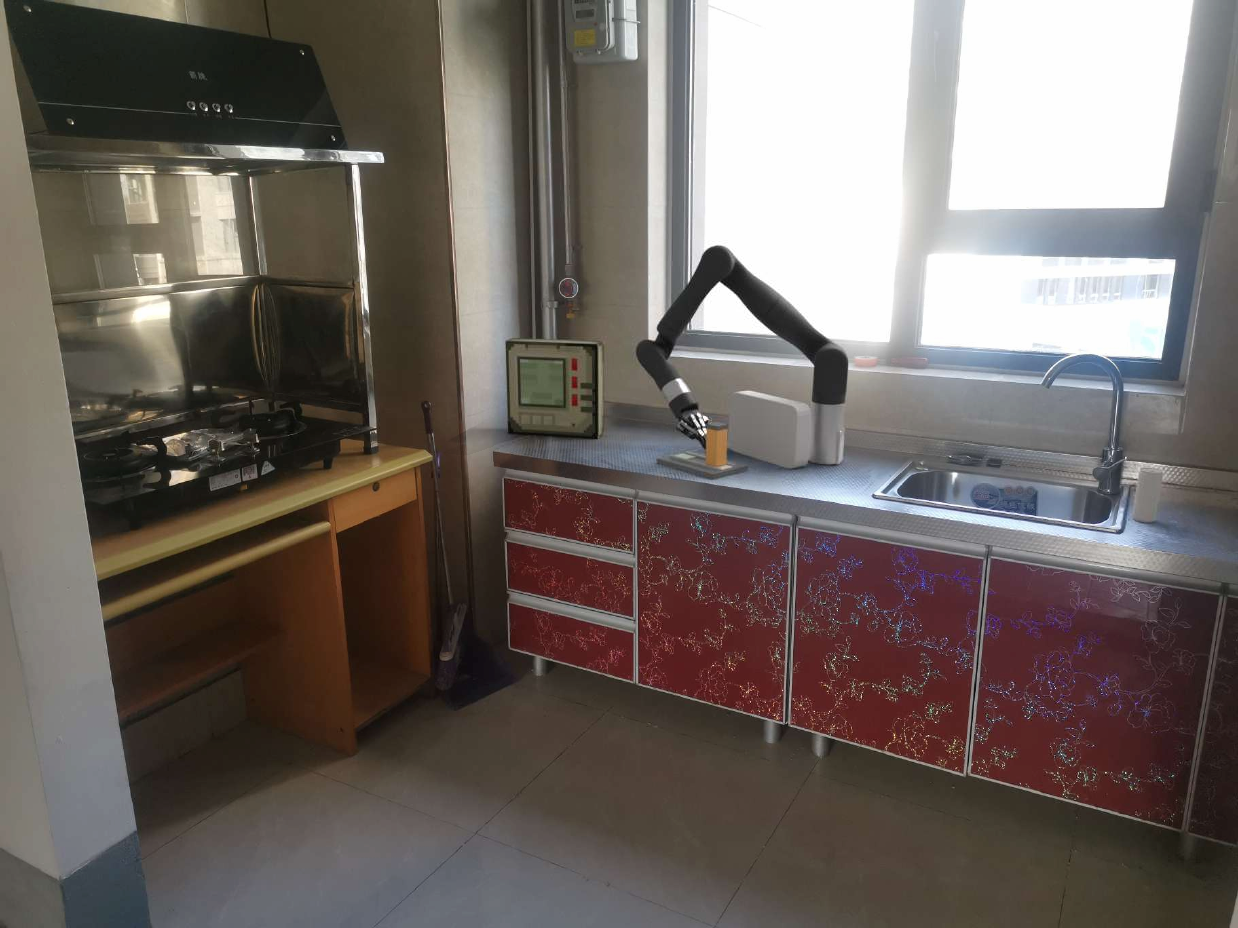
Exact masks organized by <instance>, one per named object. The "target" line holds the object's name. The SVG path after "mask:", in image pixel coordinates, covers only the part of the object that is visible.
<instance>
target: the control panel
mask: <svg viewBox="0 0 1238 928" xmlns="http://www.w3.org/2000/svg"><path fill="white" fill-rule="evenodd" d="M505 368H506V369H505V370H506V371H505V372H506V375H505V376H506V378H505V379H506V403H507V404H506V405H507V407H506V408H507V435H516V436H517V435H520V436H534V437H535V436H537V437H552V438H569V439H571V438H572V439H583V440H599V439H600V438H601V437H603V436H604V435H605V341H604V340H586V339H585V340H583V339H582V340H581V339H556V338H555V339H550V338H525V337H522V338H521V337H512V338H510V339H507V340H505Z"/></svg>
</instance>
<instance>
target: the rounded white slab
mask: <svg viewBox="0 0 1238 928" xmlns="http://www.w3.org/2000/svg"><path fill="white" fill-rule="evenodd" d="M728 406H729V408H728V409H729V412H728V413H729V414H728V433H727V444H728V447H729V449H730V450H731V451H733V452H735V453H737V454H740V455H744V456H747V457H751V458H753V459H757V460H760V461H763V462H766V463H770V464H772V465H776V466H779V467H782V468H785V469H789V470H791V469H797V468H801V467H805V466H807V465H808V462H809V446H810V429H811V406H810V405H808V404H807V403H805V402H802V401H797V400H791V399H788V398H783V397H780V396H775V395H771V394H766V393H762V392H758V391H753V390H743V391H735V392H732V393H731V394H730V396H729V405H728Z"/></svg>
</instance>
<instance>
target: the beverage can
mask: <svg viewBox="0 0 1238 928" xmlns="http://www.w3.org/2000/svg"><path fill="white" fill-rule="evenodd" d="M1163 473H1164V471H1163V469H1159V468H1155V467H1140V468H1139V471H1138V476H1137V480H1136V481H1137V482H1136V489H1135V495H1134V500H1133V501H1134V502H1133V508H1132V515H1131V517H1132V519H1133V520H1134V521H1137V522H1141V523H1145V524H1146V523H1148V524H1151V523H1153V522H1155V520H1156V518H1157V511H1158V507H1159V501H1160V495H1161V492H1162V491H1161V490H1162V484H1163V483H1162V482H1163V477H1164V474H1163Z"/></svg>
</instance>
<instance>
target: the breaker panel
mask: <svg viewBox="0 0 1238 928" xmlns="http://www.w3.org/2000/svg"><path fill="white" fill-rule="evenodd" d="M657 463H659V464H658V465H660V464H661V466H664V465H665V466H664V467H668V468H671V467H672V468H671V469H675V470H679V471H682V472H685V473H689V474H692V475H696V476H699V477H703V478H706V479H709V480H717V479H722V478H724V477H729V476H732V475H736V474H740V473H745V472H748V471H749V465H748V464H744V463H742V462H738V461H733V460H729V459H726V464H724V465H720V466H713V465H709V464H706V453H703V452H699V451H695V450H688V451H683V452H679V453H675V454H669V455H665V456H660V457H656V464H657Z"/></svg>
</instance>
